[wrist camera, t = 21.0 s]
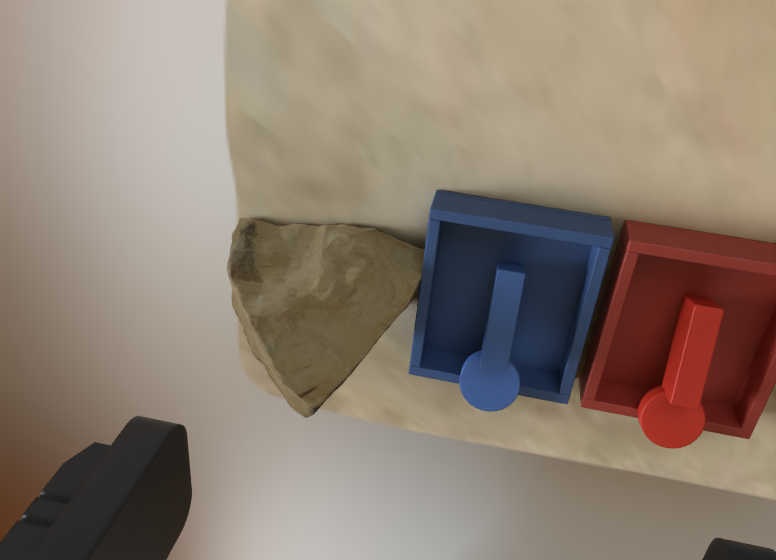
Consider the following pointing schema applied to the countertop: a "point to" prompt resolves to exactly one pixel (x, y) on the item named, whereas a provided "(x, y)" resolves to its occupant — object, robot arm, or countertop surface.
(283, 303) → the rock
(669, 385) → the red spoon
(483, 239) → the blue tray
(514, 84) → the countertop surface
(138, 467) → the robot arm
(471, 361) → the blue spoon
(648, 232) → the red tray
